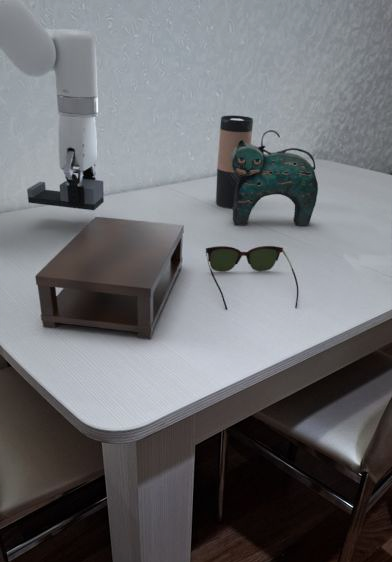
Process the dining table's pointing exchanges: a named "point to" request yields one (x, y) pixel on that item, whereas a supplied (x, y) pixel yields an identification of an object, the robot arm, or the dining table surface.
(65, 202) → the dark grey stepped block
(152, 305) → the coffee table
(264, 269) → the sunglasses
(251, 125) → the travel mug
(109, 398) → the dining table surface
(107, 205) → the dining table surface
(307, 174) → the ceramic cat
